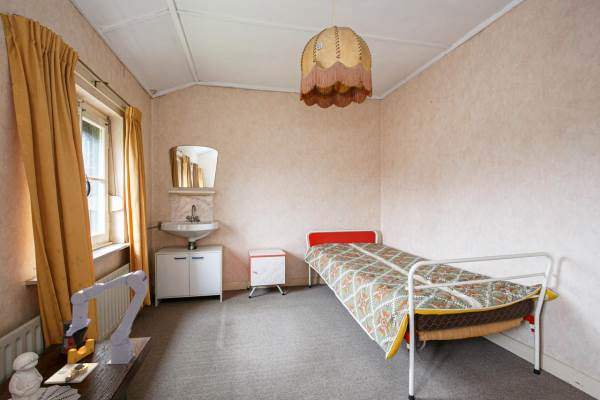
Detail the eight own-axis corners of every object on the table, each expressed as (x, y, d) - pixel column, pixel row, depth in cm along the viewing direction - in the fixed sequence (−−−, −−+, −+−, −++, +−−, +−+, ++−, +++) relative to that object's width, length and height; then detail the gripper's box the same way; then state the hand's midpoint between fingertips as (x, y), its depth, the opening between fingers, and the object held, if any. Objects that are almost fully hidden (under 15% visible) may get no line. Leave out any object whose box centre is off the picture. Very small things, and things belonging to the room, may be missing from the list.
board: (98, 364, 128) (99, 356, 129) (80, 382, 116) (81, 373, 116) (66, 366, 126) (67, 357, 127) (44, 383, 114) (45, 374, 114)
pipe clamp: (85, 351, 140) (86, 338, 140) (93, 351, 140) (94, 339, 140) (64, 364, 128) (64, 350, 128) (72, 364, 128) (73, 351, 128)
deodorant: (60, 354, 136) (62, 324, 136) (63, 349, 141) (65, 320, 141) (75, 351, 139) (76, 322, 139) (77, 346, 144) (79, 318, 144)
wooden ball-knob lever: (76, 367, 124) (77, 363, 124) (90, 366, 125) (90, 363, 125) (59, 383, 113) (59, 379, 113) (74, 382, 114) (74, 378, 114)
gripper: (81, 310, 136) (79, 337, 135) (59, 322, 121) (57, 352, 121) (96, 310, 137) (94, 336, 136) (76, 322, 122) (74, 351, 122)
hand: (78, 344), depth 129 cm, fingers closed
